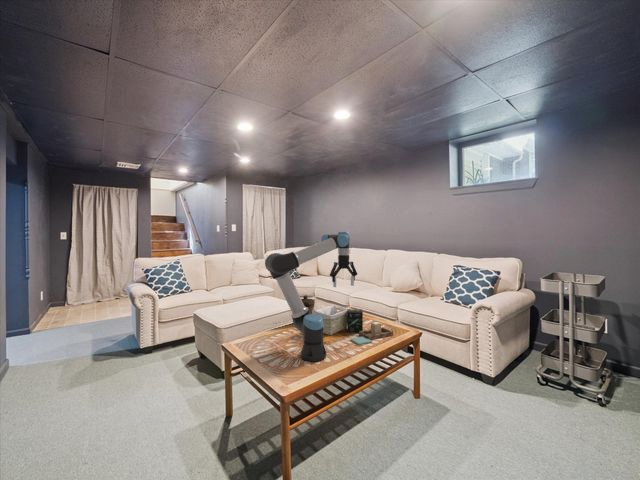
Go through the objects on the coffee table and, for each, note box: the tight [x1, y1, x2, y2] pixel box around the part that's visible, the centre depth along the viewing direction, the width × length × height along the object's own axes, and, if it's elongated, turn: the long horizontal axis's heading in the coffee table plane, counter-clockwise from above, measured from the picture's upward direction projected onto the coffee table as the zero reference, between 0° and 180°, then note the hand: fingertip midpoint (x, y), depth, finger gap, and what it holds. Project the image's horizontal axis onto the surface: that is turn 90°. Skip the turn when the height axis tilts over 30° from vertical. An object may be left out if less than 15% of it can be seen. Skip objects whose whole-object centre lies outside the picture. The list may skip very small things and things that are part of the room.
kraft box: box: [370, 321, 382, 335], centre depth 203 cm, size 5×5×8 cm
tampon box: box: [347, 308, 364, 333], centre depth 213 cm, size 11×9×15 cm
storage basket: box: [315, 304, 348, 336], centre depth 215 cm, size 24×16×15 cm
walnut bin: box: [358, 327, 394, 341], centre depth 203 cm, size 21×11×2 cm, turn 117°
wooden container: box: [301, 294, 316, 314], centre depth 234 cm, size 15×15×22 cm
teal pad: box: [350, 336, 373, 346], centre depth 191 cm, size 10×10×1 cm
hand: (343, 286), depth 196 cm, fingers open, 13 cm apart
